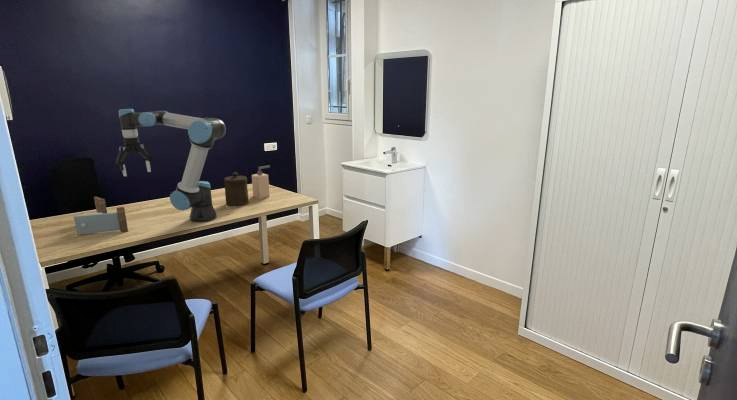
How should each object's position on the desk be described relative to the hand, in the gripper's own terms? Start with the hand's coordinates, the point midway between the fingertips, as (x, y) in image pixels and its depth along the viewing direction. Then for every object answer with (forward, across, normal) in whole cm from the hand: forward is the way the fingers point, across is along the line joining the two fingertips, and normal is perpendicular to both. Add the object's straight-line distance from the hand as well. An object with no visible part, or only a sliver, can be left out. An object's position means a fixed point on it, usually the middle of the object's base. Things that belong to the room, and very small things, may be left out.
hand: (137, 173), depth 233 cm
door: (+28, +25, +1) cm, 37 cm away
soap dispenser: (+30, -80, +12) cm, 86 cm away
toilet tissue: (+28, +25, -9) cm, 39 cm away
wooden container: (+30, -56, +13) cm, 65 cm away
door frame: (+28, +16, -8) cm, 33 cm away
